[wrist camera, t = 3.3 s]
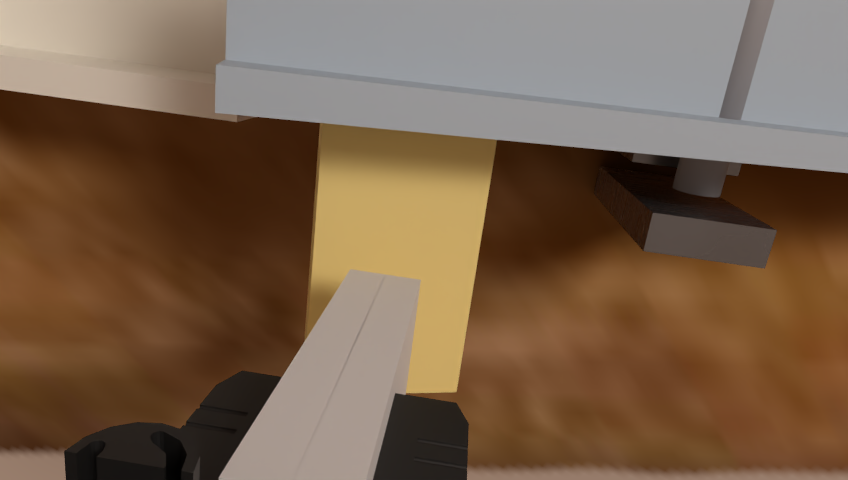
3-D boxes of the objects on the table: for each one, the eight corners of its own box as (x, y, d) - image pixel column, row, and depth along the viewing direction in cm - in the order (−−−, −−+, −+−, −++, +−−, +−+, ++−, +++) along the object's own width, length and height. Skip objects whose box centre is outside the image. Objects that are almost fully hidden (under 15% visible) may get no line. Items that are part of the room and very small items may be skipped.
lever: (221, 374, 15) (208, 454, 12) (240, -417, 10) (227, -585, 8) (927, 366, 21) (1028, 418, 18) (1142, -135, 17) (1323, -169, 14)
